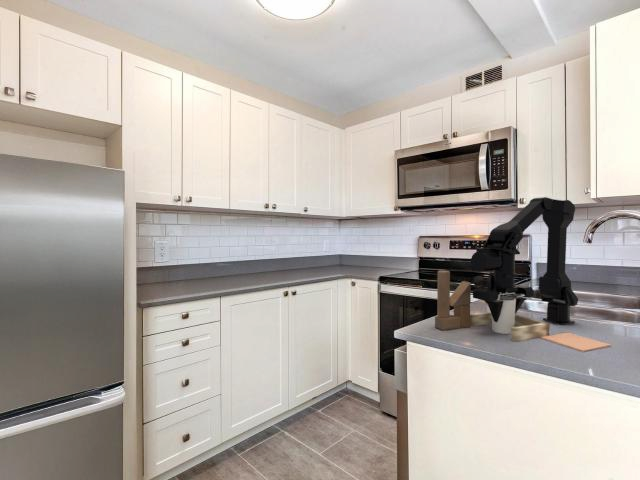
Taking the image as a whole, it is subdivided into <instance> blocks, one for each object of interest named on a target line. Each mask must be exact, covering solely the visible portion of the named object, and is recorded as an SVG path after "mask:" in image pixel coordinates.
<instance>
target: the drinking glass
mask: <svg viewBox="0 0 640 480" xmlns="http://www.w3.org/2000/svg"><path fill="white" fill-rule="evenodd" d="M500 301H503V306H502V310H501V314H500V317H499V319H498V322H494V320H493V317H492V324H491V328H492V329H491V330H492V331H493V332H494V333H497V334H498V333H499V334H503V335H508V334H509V335H511V328H513V327H515V326H514V321H515V306H516V299H515V298H512V297H507V296H500Z"/></svg>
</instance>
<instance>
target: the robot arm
mask: <svg viewBox="0 0 640 480" xmlns="http://www.w3.org/2000/svg"><path fill="white" fill-rule="evenodd" d="M575 212H576V206H575V204H574V203H573V202H572V201H571V200H569V199H564V200H563V199H562V200H561V199H555V198H554V199H553V198H550V197H547V196H546V197H534V198H532V199H530V201H529V203H527V205H526V206H525V207H523V208H522V209H521V210H520V211H518V212H517V214H516V215H514V216H513V217H512V218H511V219H510V220H509V221H506V222H504V223H502V224H499V225H497V226H496V227H494V228H493V229H492V230H491V231H490V232H489V235H488V237H487V239H486V240H485V243H484V244H483V245H482V247H476V250H475V251H476V252H474V253H473V254H472V256H471V258H470V265H471V268H472V269H473V270H475V271H476V272H489V273H488V277H483V276H482V275H477V276H474V277H473V285H474V287H475V289H474V290H472V298H473V299H476V300H481V301H484V302H485V303H486V305H487V307H488V309H489V312H491V314H492V317H493V320H494V322H498V319H499V317H500V314H501V310H502V306H503V301H500V296H507V297H512V298H515V299H516V306H515V314H516V315H517V312H519V309H520V308H521V306H522V305H523V303H524V302H525V301H527V298H532V297H535V290H534V289H533V287H532V286H527V285H523V284H515V283H516V282H515V278H519V273H516V270H515V269H516V266H515V265H516V264H515V262H516V255H520V254H521V252H520V250H518V249H517V248H516V247H517V246H518V245H519V243H520V242H521V241H522V240H523V238H524V232H525V231H526V230H527V229H528V228H529V227H530V226H531V225H532V224H533V223H534V222H535V221H536V220H537V219H538V218H539V217H540V216H542V221H543V222H544V224H545V225H546V227H547V246H546V247H547V249H546V251H547V254H546V271H545V272H544V274H543V276H539V277H538V288H537V289H539V295H540V299H541V301H542V302H546V303H547V308H546V317H543V318H542V320H543V321H545V322H546V321H547V322H550V323H553V324H557V325H559V326H560V325H569V324H571V325H572V324H574V323H576V322H575V320H572V319H571V307H576V306H577V305H578V302H579V297H578V296H577V295H576V293H575V292H574V291H573V289H572V282H571V280H570V278H569V277H568V275H567V274H566V262H567V261H566V258H567V233H568V232H567V231H568V228H569V226H570V225H571V224H572V222H573V220H574V217H575ZM523 296H525V297H523Z"/></svg>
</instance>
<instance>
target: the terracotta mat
mask: <svg viewBox="0 0 640 480" xmlns="http://www.w3.org/2000/svg"><path fill="white" fill-rule="evenodd" d="M540 339H542V340H545V341H547V342H551V343H554V344H557V345H560V346H563V347H566V348H569V349H572V350H575V351H578V352H582V353H584V352H589V351H595V350H599V349H604V348H609V347H612V344H609V343H606V342H603V341H599V340H596V339H592V338H588V337H585V336H581V335H578V334H574V333H572V332H571V333H570V332H562V333H556V334H552V335H551V334H549V336H544V337H540Z"/></svg>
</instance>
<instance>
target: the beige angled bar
mask: <svg viewBox="0 0 640 480" xmlns="http://www.w3.org/2000/svg"><path fill="white" fill-rule="evenodd" d="M484 324H485V325H492V314H491V311H485V312H480V313H477V312H476V313H470V327H477V326H483V325H484ZM485 325H484V326H485ZM544 336H550V323H548V322H546V321H545V322H544V321H541V320H537V319H533V318H531V317H526V316H523V315H519V314H517V313H516V314H515V321H514V327H513V328H511V334H510V341H512V342H520V341H526V340H532V339H537V338H541V337H544Z"/></svg>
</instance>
